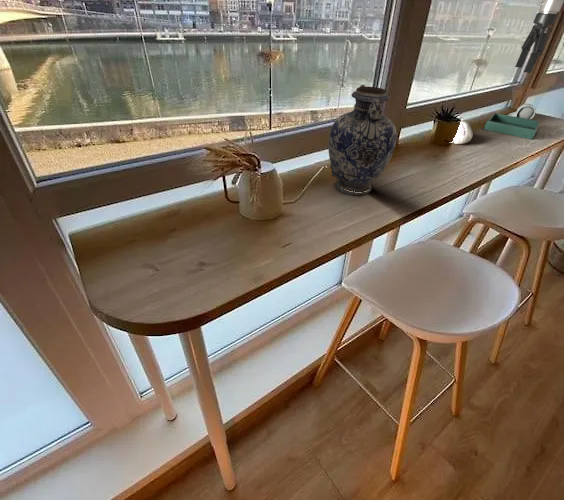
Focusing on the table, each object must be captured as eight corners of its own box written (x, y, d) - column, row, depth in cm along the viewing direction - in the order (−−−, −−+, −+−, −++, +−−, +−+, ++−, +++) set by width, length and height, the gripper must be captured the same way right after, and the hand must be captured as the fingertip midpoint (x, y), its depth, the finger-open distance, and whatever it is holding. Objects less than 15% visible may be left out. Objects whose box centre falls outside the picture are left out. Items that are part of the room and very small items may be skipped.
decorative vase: (319, 171, 109) (330, 79, 91) (374, 173, 109) (395, 81, 92) (327, 204, 92) (342, 99, 75) (392, 205, 93) (421, 101, 75)
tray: (536, 129, 153) (540, 121, 150) (532, 139, 141) (536, 130, 139) (490, 120, 162) (494, 112, 159) (483, 129, 150) (487, 120, 148)
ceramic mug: (529, 119, 166) (537, 103, 161) (530, 123, 160) (538, 106, 155) (506, 115, 169) (513, 100, 165) (506, 119, 164) (513, 103, 159)
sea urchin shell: (473, 139, 139) (481, 120, 134) (465, 148, 130) (473, 128, 125) (441, 132, 145) (448, 113, 140) (432, 140, 136) (439, 120, 131)
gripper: (528, 11, 146) (506, 64, 159) (548, 13, 127) (521, 73, 140) (547, 12, 145) (523, 65, 158) (569, 14, 126) (540, 75, 139)
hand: (522, 69), depth 149 cm, fingers open, 13 cm apart
